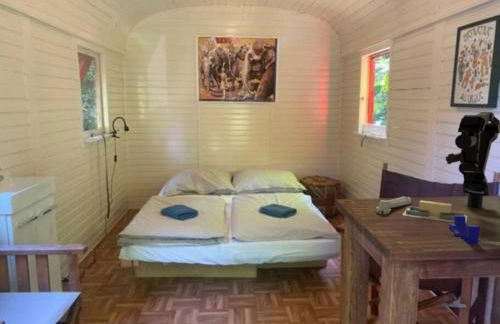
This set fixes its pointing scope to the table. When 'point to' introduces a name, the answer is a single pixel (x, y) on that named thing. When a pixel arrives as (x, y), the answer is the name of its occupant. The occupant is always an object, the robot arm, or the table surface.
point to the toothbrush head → (392, 204)
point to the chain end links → (416, 211)
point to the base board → (430, 217)
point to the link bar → (434, 208)
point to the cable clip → (465, 230)
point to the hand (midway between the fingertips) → (467, 185)
